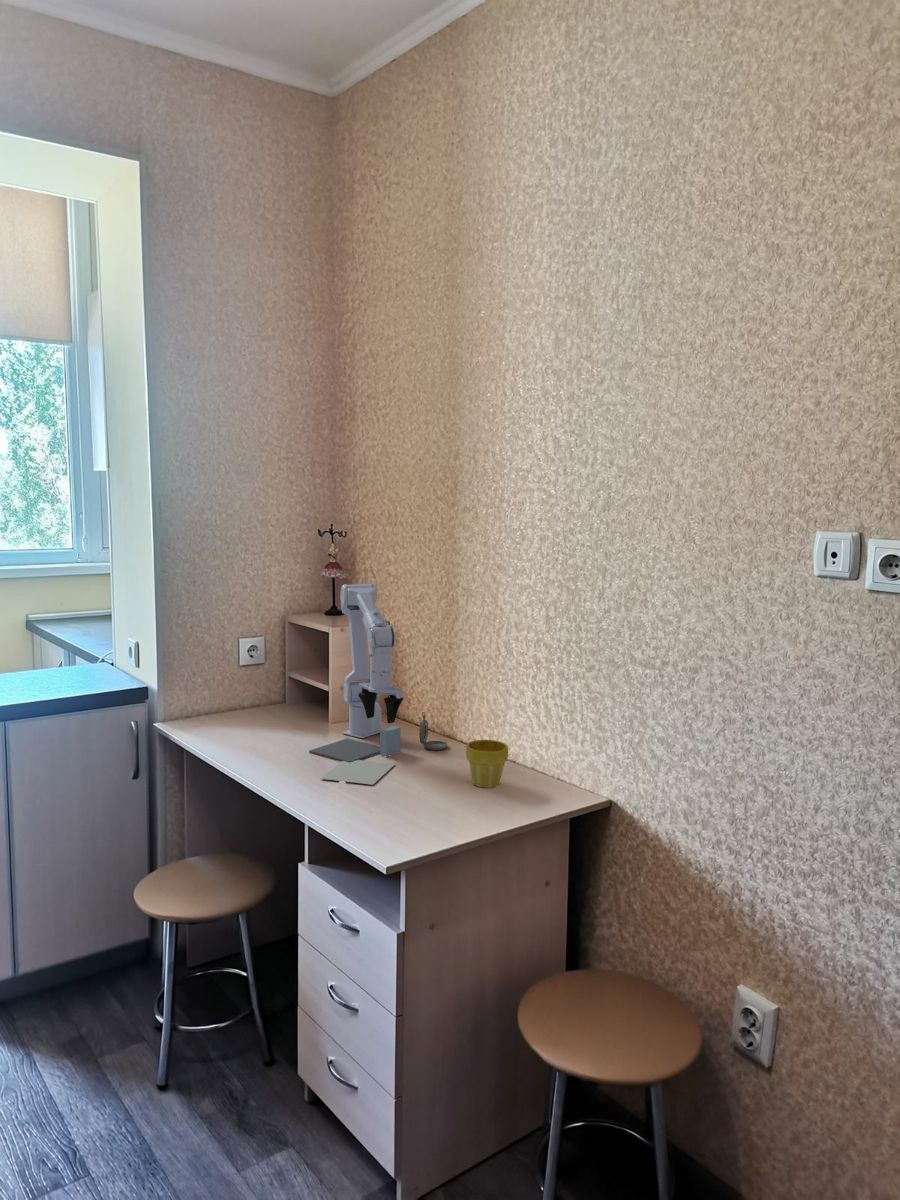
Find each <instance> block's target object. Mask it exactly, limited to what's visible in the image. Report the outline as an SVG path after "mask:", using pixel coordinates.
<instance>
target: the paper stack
mask: <svg viewBox="0 0 900 1200" xmlns="http://www.w3.org/2000/svg"><path fill="white" fill-rule="evenodd" d="M395 765H396V763H392V762H391V763H390V762H381V761H380V762H379V761H372V760H364V759H362V760H355V761H352V762H346V761H342V762H341V761H340V762H339V763H338V764H337V765H335V766H334V767H333V768H331V769H330V770H329V771H328V772H326V773H325V774H324V775H323V776H321V777H320V780H329V781H336V782H338V781H345V782H347V783H356V784H364V785H365V784H366V785H374V784H376V782H378V780H380V778H382V777H383V776H384V775H385V774H386V773H388V772H389V770H391V769H392V768H393V767H394V766H395Z"/></svg>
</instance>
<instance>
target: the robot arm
mask: <svg viewBox="0 0 900 1200" xmlns="http://www.w3.org/2000/svg"><path fill="white" fill-rule="evenodd" d="M376 586H377V585H375V583H369V584H368V583H365V584H361V583H360V584H358V583H357V584H346V583H345V584H343V585H342V586H341V587H340V597H339V599H340V608H341V613H342V614H344V615H346V616H347V620H348V626H349V628H348V629H349V640H350V641H349V643H350V655H351V669H352V671H350V672H349V674H347V675H346V676H345V677H344V678H343V679H344V680H343V692H342V693H343V700H344V702H345V703H346V704H347V705H349V706H348V709H349V710H348V716H349V717H348V718H349V719H348V720H349V722H348V723H349V724H348V725H349V726H348V730H345V731H342V734H344V735H347V736H351V737H355V738H359V739H364V738H368V737H371V736H374V735H377V734H380V730H383V729H382V708H381V705H380V704H379V703H378V701H379V700H380V698H381V697H380V696H381V695H383V696H387V697H384V698H383V700H384V704H385V707H386V719H387V724H392V723H395V720H396V717H397V714H398V711H399V708H400V706H401V705H402V704H401V703H402V702H403V701H404V690H403V689H399V688H397V687H395V686H393V685H392V665H393V664H392V661H393V660H392V655H393V653H392V650H393V649H392V648H393V647H394V646H395V642H396V635H395V630H394V627H393V626H392V625H390V624H387V622H386V620H385V617H384V615H383V613H382V612H381V611H380V610H378V609H377V608H376V603H377V600H378V590H377V587H376ZM366 633H367V635H366ZM367 645H368V646H367ZM367 647H368V648H367ZM368 654H370V655H369V657H370V658H369V657H368ZM368 658H369V659H368ZM369 661H370V662H369ZM369 663H370V664H369ZM369 665H370V667H369Z"/></svg>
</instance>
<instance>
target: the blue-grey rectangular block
mask: <svg viewBox="0 0 900 1200" xmlns="http://www.w3.org/2000/svg"><path fill="white" fill-rule="evenodd" d="M401 729H402V728H401V727H400V726H396V725H392V726H390V727H387V728H383V729H382V730H380V733H379V746H380V753H379V756H380V755H382V756H381V757H384V756H388V757H390V756H389V755H391V754H393V755H395V754H394V753H396V754H398V753H397V752H399V753H400V752H401V747H402V745H401V735H402V734H401V733H402V732H401V731H402V730H401ZM391 756H392V755H391Z"/></svg>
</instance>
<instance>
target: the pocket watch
mask: <svg viewBox="0 0 900 1200" xmlns="http://www.w3.org/2000/svg"><path fill="white" fill-rule="evenodd" d="M421 716H422V718H423V720H421V722H420V727H419V734H418V735H419V736H418V737H419V742H420V744H422V745H423V747H424V748H425V749H428V750H434V751H440V750H444V749H447V748H448V743H447V742H446V741H444V740H443V741H441V740H429V741H427V740H428V735H429V723H428V721H427V720H426V717H427V716H426V713H425V712H424V711H422V713H421Z"/></svg>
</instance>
